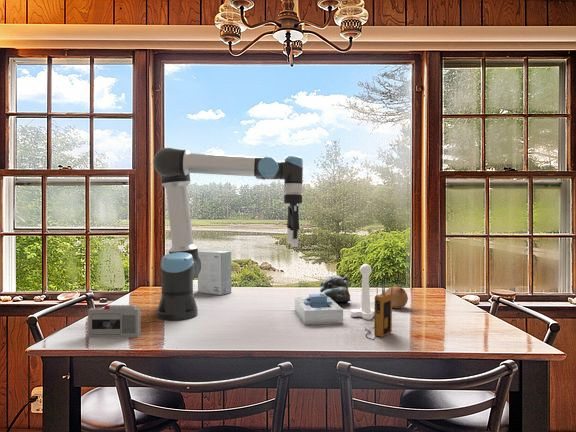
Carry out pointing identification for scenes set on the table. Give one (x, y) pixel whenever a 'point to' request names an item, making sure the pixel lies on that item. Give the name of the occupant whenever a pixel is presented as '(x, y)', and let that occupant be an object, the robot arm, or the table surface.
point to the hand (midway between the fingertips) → (292, 245)
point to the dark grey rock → (336, 288)
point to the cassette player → (114, 321)
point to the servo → (317, 300)
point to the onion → (398, 297)
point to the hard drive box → (215, 272)
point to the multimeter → (382, 313)
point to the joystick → (364, 295)
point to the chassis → (318, 312)
